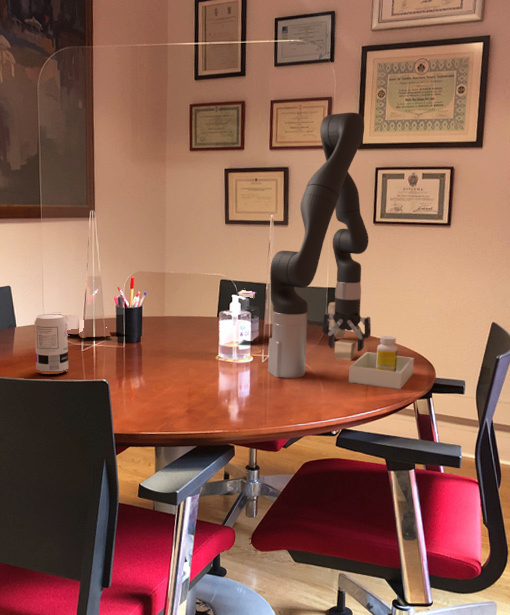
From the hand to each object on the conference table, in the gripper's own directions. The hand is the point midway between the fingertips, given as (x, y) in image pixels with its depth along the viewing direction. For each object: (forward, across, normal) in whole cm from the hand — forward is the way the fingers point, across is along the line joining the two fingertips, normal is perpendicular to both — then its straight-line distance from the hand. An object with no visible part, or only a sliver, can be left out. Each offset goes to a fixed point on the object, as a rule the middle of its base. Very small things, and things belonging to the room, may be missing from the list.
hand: (345, 349), depth 188 cm
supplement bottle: (+2, -16, +15) cm, 22 cm away
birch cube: (+3, 0, 0) cm, 3 cm away
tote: (+2, -16, +19) cm, 25 cm away
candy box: (+3, +37, -10) cm, 38 cm away
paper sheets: (+3, +94, +8) cm, 94 cm away
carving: (+3, +11, -26) cm, 28 cm away
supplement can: (+2, +65, +55) cm, 85 cm away
